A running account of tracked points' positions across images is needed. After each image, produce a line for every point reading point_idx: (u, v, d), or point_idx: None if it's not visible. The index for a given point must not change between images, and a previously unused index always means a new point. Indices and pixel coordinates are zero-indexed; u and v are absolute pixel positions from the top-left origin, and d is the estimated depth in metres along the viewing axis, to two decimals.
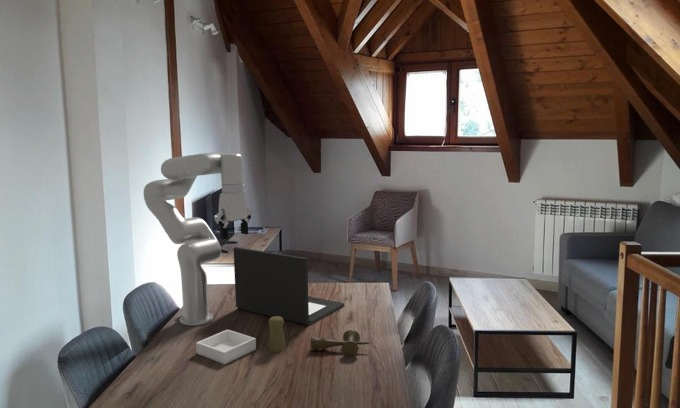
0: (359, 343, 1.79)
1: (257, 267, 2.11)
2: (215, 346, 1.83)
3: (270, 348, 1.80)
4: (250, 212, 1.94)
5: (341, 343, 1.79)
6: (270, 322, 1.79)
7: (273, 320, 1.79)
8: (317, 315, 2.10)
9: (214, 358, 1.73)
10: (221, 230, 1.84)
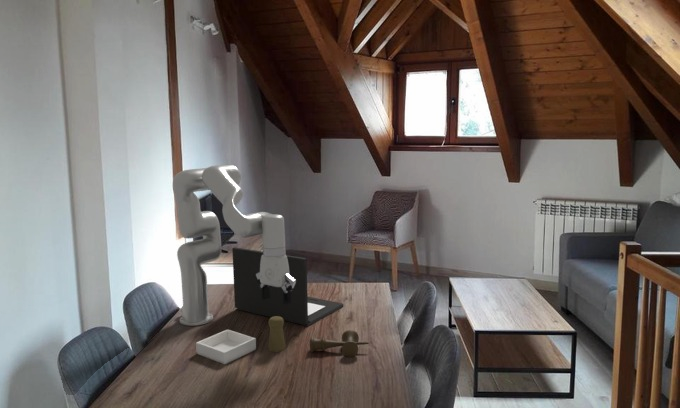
0: (359, 343, 1.79)
1: (256, 267, 2.10)
2: (215, 346, 1.83)
3: (270, 348, 1.80)
4: None
5: (341, 344, 1.78)
6: (270, 322, 1.79)
7: (273, 320, 1.79)
8: (316, 315, 2.09)
9: (214, 358, 1.73)
10: (288, 295, 1.76)
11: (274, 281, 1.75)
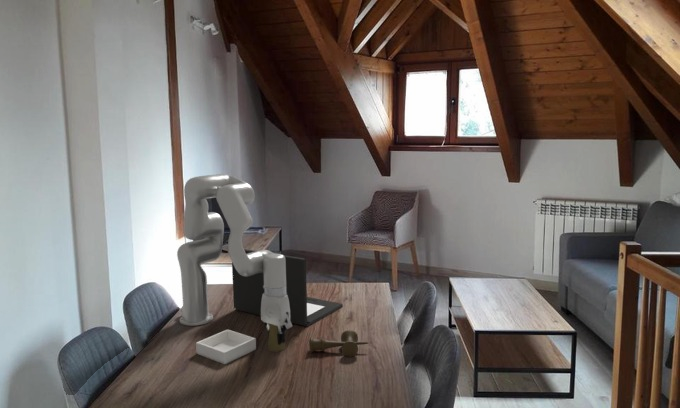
0: (358, 343, 1.79)
1: None
2: (215, 346, 1.83)
3: (270, 348, 1.80)
4: None
5: (340, 344, 1.78)
6: None
7: None
8: (315, 316, 2.09)
9: (214, 358, 1.73)
10: (282, 335, 1.80)
11: (275, 320, 1.77)
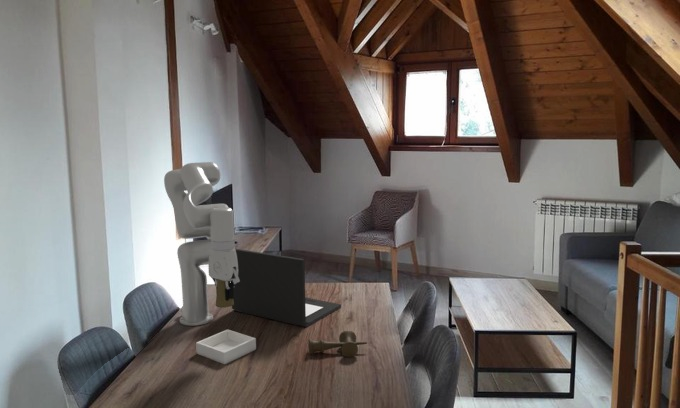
0: (357, 343, 1.79)
1: (253, 268, 2.09)
2: (215, 346, 1.83)
3: (217, 304, 1.76)
4: None
5: (340, 345, 1.78)
6: None
7: None
8: (314, 317, 2.08)
9: (214, 358, 1.73)
10: (230, 291, 1.75)
11: (222, 275, 1.73)
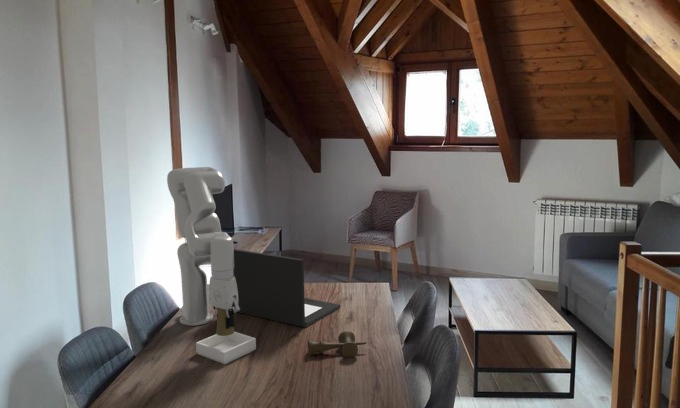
0: (357, 344, 1.78)
1: (252, 269, 2.09)
2: (215, 346, 1.83)
3: (218, 332, 1.77)
4: None
5: (339, 345, 1.77)
6: None
7: None
8: (313, 317, 2.08)
9: (214, 358, 1.73)
10: (230, 319, 1.76)
11: (222, 304, 1.74)
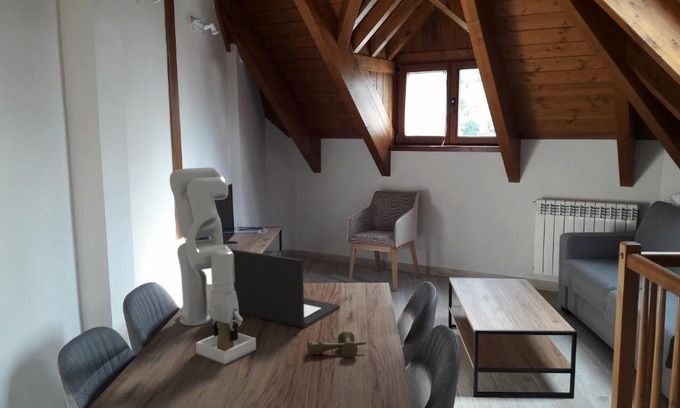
0: (356, 344, 1.78)
1: (251, 269, 2.08)
2: (215, 346, 1.83)
3: None
4: None
5: (339, 346, 1.77)
6: (218, 323, 1.77)
7: None
8: (312, 317, 2.07)
9: (214, 358, 1.73)
10: (235, 332, 1.76)
11: (222, 317, 1.75)
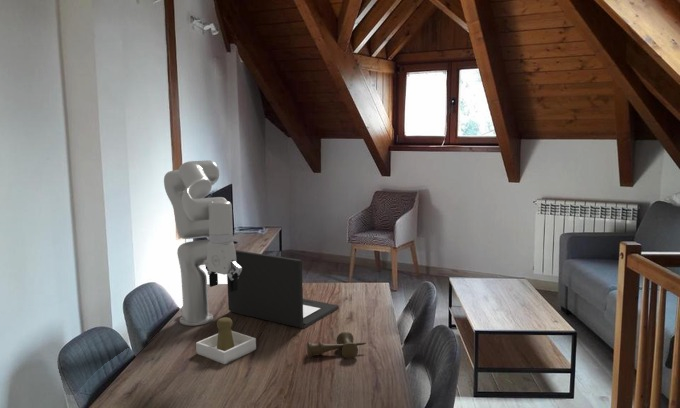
0: (356, 344, 1.78)
1: (250, 269, 2.08)
2: (215, 346, 1.83)
3: None
4: None
5: (339, 346, 1.77)
6: (218, 323, 1.77)
7: (221, 321, 1.77)
8: (311, 318, 2.07)
9: (214, 358, 1.73)
10: (234, 282, 1.73)
11: (220, 268, 1.72)
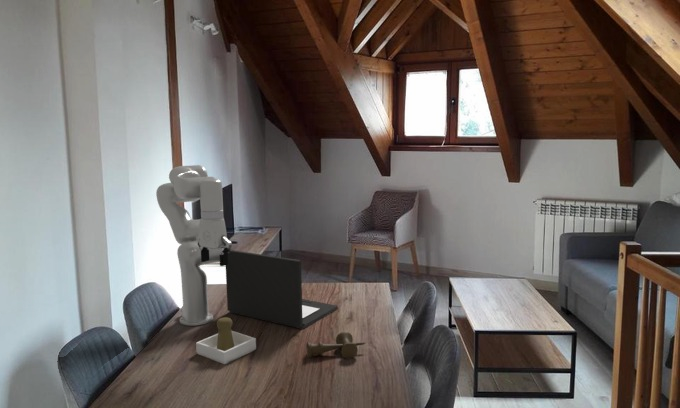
0: (355, 344, 1.78)
1: (249, 270, 2.07)
2: (215, 346, 1.83)
3: None
4: None
5: (338, 346, 1.76)
6: (218, 323, 1.77)
7: (221, 321, 1.77)
8: (310, 318, 2.06)
9: (214, 358, 1.73)
10: (224, 257, 1.81)
11: (211, 243, 1.81)
